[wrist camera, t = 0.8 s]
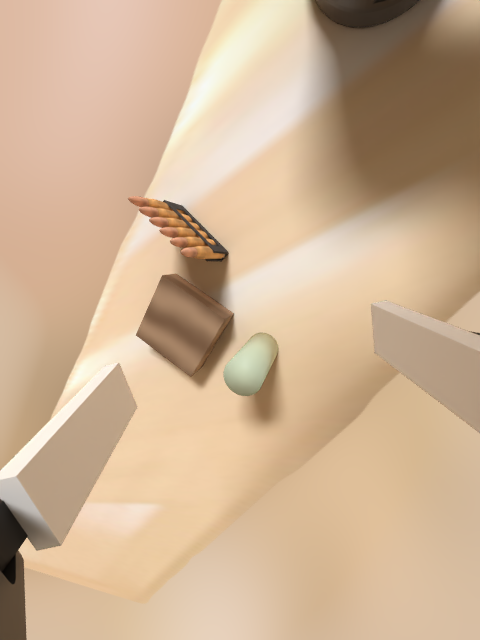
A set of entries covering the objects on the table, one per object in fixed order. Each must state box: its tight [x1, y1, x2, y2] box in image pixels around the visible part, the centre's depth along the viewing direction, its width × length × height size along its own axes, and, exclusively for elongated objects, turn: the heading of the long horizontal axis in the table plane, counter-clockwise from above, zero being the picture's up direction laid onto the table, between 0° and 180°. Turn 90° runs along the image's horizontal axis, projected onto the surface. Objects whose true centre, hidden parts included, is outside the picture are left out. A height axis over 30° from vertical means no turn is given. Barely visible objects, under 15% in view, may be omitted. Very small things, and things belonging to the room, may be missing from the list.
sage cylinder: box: [224, 333, 278, 396], centre depth 36 cm, size 5×5×11 cm
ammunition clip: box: [128, 196, 228, 261], centre depth 35 cm, size 11×2×12 cm, turn 47°
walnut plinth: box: [136, 274, 234, 376], centre depth 43 cm, size 12×12×4 cm
